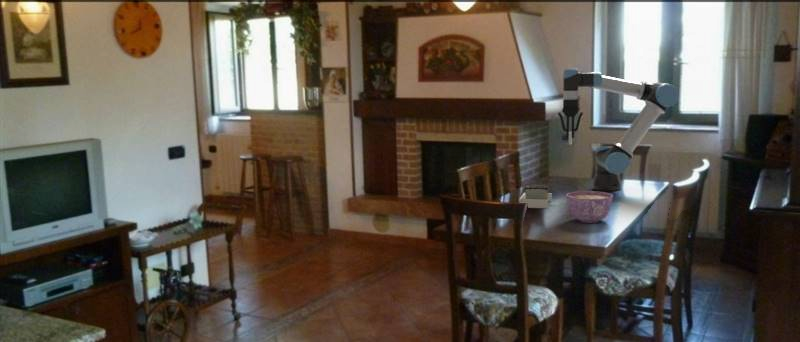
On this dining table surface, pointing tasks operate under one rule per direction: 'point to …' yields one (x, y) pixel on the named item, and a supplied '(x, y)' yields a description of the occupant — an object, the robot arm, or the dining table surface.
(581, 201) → the bowl of food
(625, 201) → the dining table surface
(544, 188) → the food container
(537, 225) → the dining table surface
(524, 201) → the frame
